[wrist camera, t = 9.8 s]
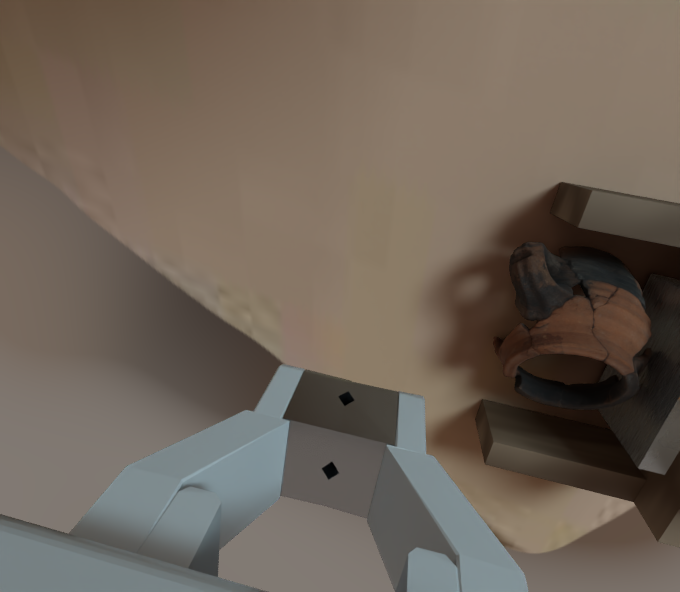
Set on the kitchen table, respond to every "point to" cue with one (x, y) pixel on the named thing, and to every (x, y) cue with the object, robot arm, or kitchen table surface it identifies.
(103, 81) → the kitchen table surface
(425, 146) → the kitchen table surface
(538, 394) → the pottery mug
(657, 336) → the grey flat panel
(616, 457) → the stand
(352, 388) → the robot arm
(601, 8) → the kitchen table surface
